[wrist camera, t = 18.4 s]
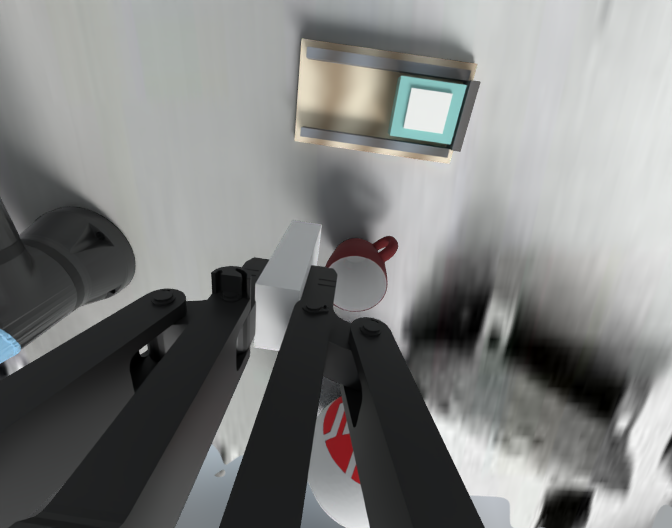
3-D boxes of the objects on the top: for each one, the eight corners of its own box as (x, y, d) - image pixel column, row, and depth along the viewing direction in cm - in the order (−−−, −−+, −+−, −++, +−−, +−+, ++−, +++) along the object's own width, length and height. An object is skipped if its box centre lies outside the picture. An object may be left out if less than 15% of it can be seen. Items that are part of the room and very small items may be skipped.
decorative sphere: (433, 382, 60) (463, 502, 42) (396, 448, 69) (407, 570, 51) (328, 355, 59) (312, 466, 41) (304, 426, 68) (283, 542, 50)
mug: (370, 203, 46) (372, 228, 37) (407, 242, 48) (417, 275, 39) (318, 250, 50) (308, 282, 41) (354, 284, 52) (353, 322, 43)
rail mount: (295, 140, 43) (289, 143, 39) (303, 39, 38) (296, 33, 34) (447, 162, 43) (455, 168, 39) (474, 64, 38) (486, 61, 34)
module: (387, 132, 41) (390, 135, 37) (398, 77, 38) (401, 75, 34) (443, 141, 41) (451, 144, 37) (457, 86, 38) (467, 85, 34)
